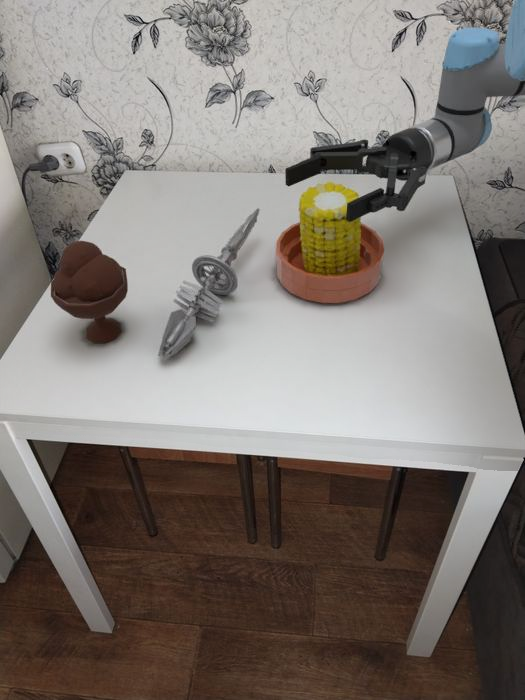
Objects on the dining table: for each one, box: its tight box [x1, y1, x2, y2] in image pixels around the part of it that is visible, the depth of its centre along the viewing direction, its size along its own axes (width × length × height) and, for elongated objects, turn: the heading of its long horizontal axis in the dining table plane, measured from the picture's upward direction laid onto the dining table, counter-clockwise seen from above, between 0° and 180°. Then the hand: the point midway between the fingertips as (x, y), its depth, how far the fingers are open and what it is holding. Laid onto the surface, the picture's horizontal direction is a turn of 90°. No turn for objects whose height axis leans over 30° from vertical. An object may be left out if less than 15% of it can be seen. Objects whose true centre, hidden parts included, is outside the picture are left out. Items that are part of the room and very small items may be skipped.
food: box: [298, 181, 362, 276], centre depth 94 cm, size 15×12×10 cm
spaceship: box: [157, 208, 261, 360], centre depth 93 cm, size 8×35×8 cm
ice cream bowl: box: [50, 240, 129, 344], centre depth 85 cm, size 11×11×15 cm
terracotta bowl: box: [275, 221, 385, 304], centre depth 97 cm, size 17×17×6 cm
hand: (316, 194), depth 86 cm, fingers open, 13 cm apart
